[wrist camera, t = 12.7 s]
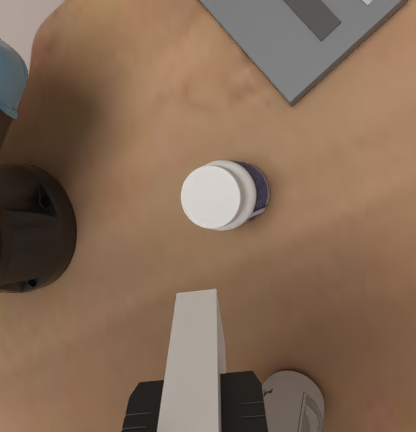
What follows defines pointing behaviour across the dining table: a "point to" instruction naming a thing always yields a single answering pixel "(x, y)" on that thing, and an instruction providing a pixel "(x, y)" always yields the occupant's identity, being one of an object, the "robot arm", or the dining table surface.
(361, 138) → the dining table surface
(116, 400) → the dining table surface
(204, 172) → the pill bottle
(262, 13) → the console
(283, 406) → the energy drink can
